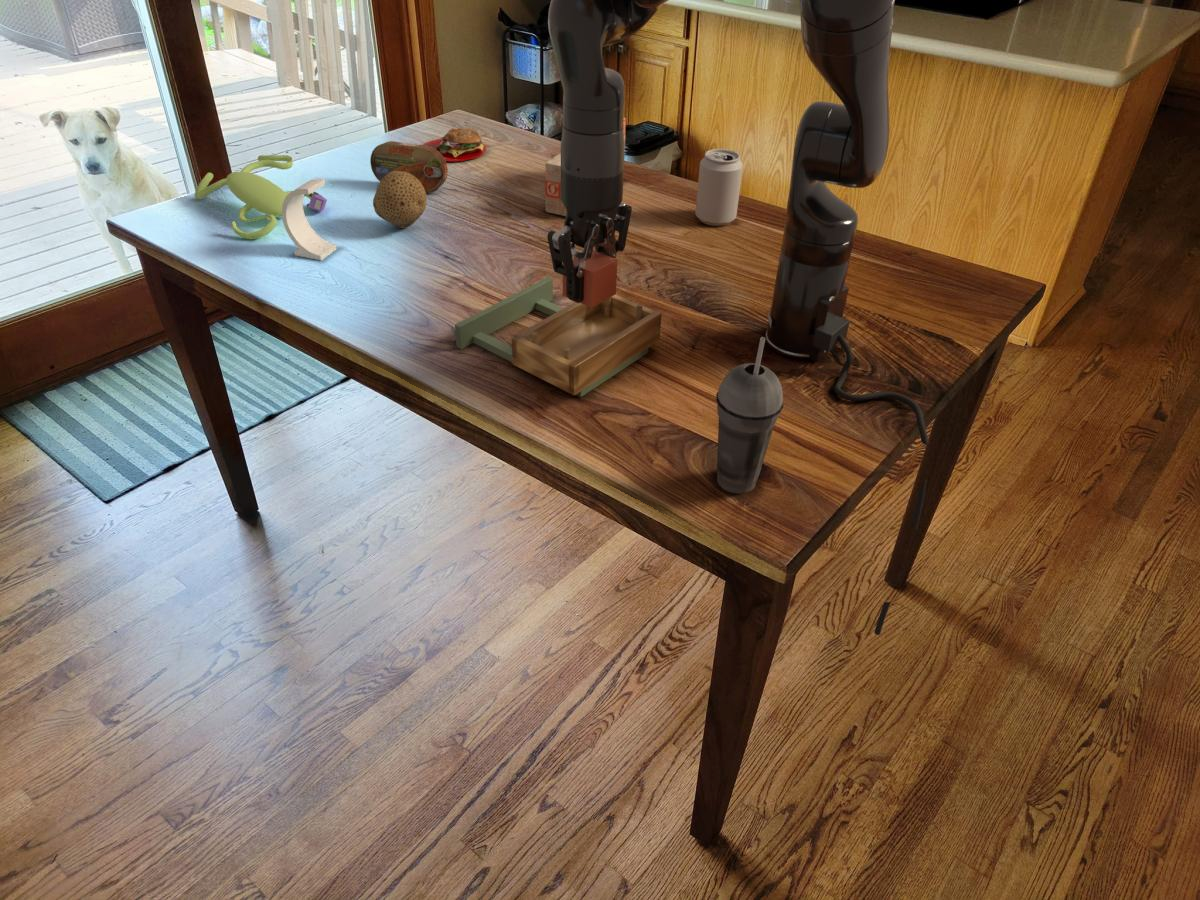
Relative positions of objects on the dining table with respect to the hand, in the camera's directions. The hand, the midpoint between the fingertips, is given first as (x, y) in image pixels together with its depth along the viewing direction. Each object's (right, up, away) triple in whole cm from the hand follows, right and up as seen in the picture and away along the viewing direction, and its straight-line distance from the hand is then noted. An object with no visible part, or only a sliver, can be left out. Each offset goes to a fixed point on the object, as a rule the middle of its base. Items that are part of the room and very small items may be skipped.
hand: (589, 292), depth 114 cm
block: (0, 0, 0) cm, 0 cm away
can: (+22, +21, +45) cm, 55 cm away
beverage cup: (+17, -24, -12) cm, 32 cm away
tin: (-35, +29, +53) cm, 70 cm away
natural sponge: (-33, +18, +39) cm, 54 cm away
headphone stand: (-46, +12, +31) cm, 57 cm away
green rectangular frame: (-5, -6, +10) cm, 12 cm away
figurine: (-60, +24, +45) cm, 79 cm away
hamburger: (-30, +42, +69) cm, 86 cm away
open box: (0, -7, +6) cm, 9 cm away
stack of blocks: (-1, +28, +52) cm, 59 cm away
